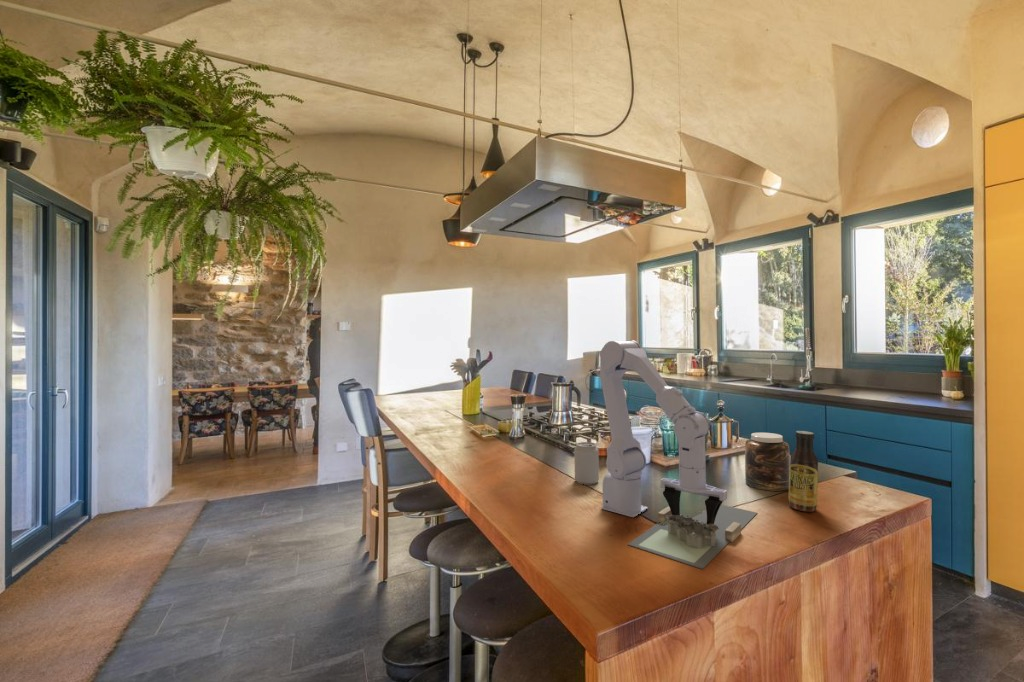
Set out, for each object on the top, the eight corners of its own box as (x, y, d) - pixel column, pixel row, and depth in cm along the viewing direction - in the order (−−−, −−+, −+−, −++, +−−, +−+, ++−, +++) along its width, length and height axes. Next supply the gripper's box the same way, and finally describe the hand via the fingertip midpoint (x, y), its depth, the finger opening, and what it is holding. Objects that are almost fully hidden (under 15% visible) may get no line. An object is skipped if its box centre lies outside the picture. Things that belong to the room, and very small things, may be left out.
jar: (748, 476, 145) (748, 429, 145) (791, 483, 138) (791, 433, 138) (742, 486, 136) (741, 436, 135) (788, 494, 129) (787, 441, 129)
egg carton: (721, 546, 97) (721, 527, 97) (689, 550, 95) (689, 530, 95) (692, 526, 107) (692, 508, 107) (663, 529, 106) (662, 511, 106)
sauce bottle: (786, 509, 118) (785, 432, 118) (791, 502, 122) (790, 428, 122) (816, 515, 113) (815, 435, 113) (820, 508, 118) (819, 431, 118)
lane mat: (627, 544, 99) (627, 543, 99) (693, 499, 126) (693, 498, 126) (702, 569, 88) (702, 568, 88) (757, 513, 115) (757, 512, 115)
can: (601, 485, 139) (600, 446, 139) (576, 485, 139) (575, 446, 139) (596, 478, 146) (596, 440, 146) (573, 478, 146) (572, 441, 146)
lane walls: (658, 521, 111) (658, 512, 111) (668, 514, 115) (668, 505, 115) (732, 542, 99) (732, 532, 99) (741, 533, 104) (740, 523, 104)
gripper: (731, 467, 103) (732, 527, 103) (668, 457, 113) (669, 511, 113) (720, 474, 98) (721, 537, 98) (656, 463, 108) (657, 520, 108)
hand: (693, 524), depth 105 cm, fingers open, 7 cm apart
